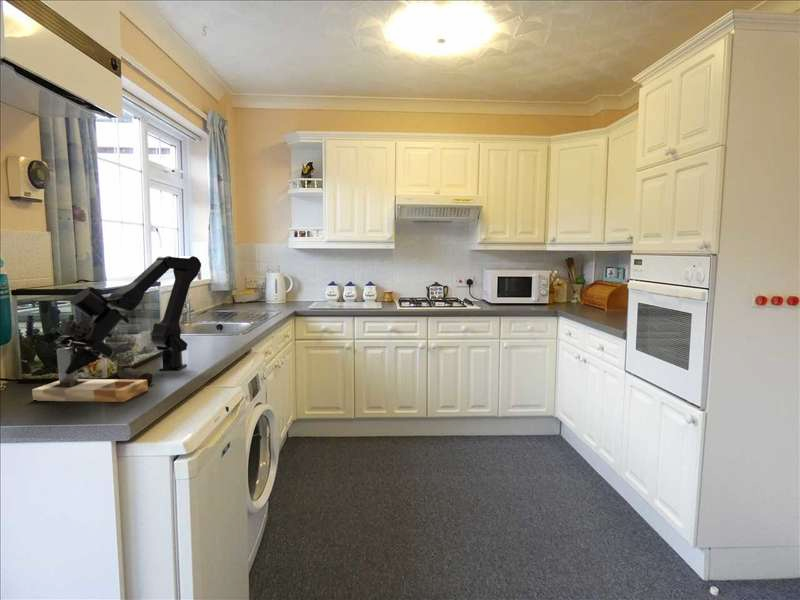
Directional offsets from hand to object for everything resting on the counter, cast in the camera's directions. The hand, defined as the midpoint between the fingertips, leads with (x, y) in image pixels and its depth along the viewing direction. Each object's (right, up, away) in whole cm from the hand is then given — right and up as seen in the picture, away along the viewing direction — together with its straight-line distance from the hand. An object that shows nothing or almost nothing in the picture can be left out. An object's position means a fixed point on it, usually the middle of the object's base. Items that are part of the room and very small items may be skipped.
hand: (62, 372), depth 118 cm
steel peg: (+1, -6, +2) cm, 7 cm away
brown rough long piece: (+9, -5, +15) cm, 19 cm away
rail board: (+7, -6, +2) cm, 10 cm away
